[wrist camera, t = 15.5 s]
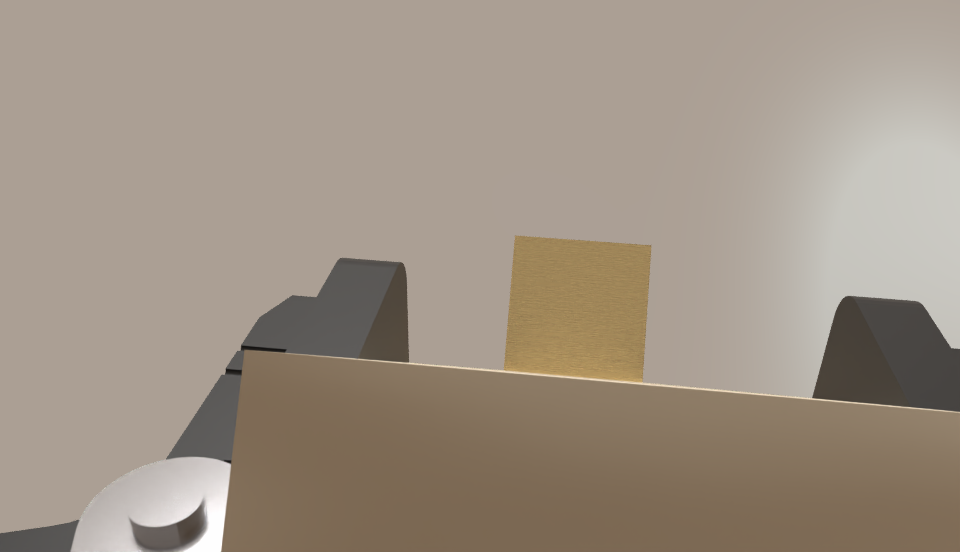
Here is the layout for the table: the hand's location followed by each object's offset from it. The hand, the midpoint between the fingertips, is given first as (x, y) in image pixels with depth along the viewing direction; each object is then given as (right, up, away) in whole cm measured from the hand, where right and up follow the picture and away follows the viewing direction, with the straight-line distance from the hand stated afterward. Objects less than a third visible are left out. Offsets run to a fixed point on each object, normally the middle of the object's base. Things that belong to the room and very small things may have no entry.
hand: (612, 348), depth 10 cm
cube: (+2, -3, +20) cm, 20 cm away
